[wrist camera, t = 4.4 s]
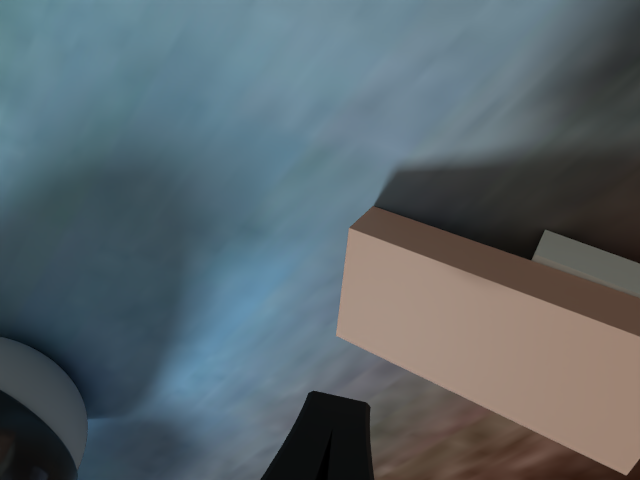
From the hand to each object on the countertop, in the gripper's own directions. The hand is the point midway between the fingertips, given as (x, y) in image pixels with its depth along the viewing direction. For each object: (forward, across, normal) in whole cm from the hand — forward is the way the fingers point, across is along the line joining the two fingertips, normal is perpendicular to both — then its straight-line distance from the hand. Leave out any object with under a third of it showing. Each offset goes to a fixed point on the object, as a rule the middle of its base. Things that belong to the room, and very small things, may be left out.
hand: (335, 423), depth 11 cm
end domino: (+6, 0, 0) cm, 6 cm away
